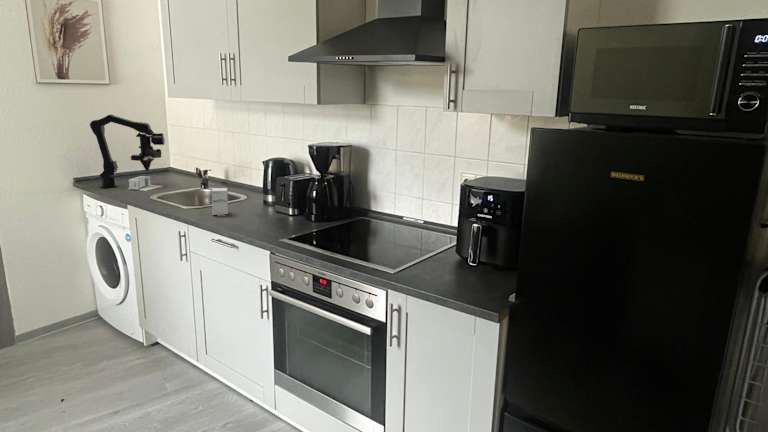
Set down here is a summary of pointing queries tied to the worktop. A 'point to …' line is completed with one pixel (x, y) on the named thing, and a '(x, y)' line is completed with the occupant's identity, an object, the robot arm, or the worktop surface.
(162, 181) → the worktop surface
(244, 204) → the worktop surface
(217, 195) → the supplement box
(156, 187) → the mat
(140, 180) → the syrup box
